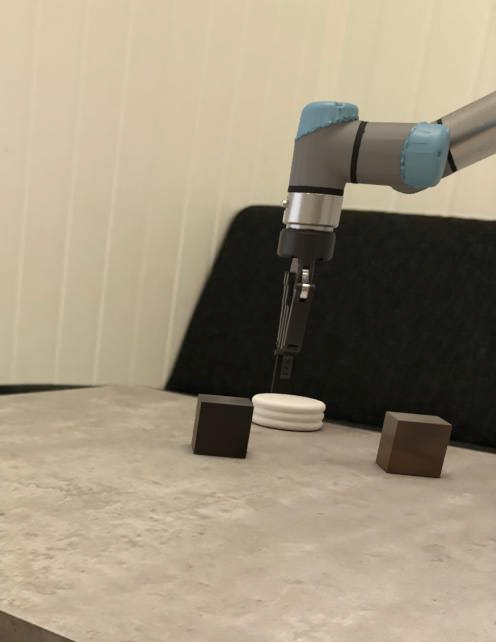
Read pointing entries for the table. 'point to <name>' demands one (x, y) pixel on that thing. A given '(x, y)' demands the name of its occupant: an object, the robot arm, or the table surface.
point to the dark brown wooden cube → (413, 444)
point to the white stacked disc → (288, 412)
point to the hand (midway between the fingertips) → (279, 401)
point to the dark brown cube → (222, 426)
